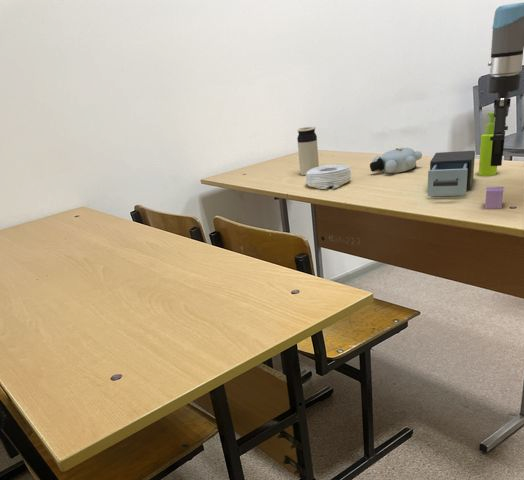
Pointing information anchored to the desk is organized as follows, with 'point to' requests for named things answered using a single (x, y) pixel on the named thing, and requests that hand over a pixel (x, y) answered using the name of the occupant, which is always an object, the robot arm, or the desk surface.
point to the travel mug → (307, 149)
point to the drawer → (448, 179)
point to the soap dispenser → (487, 149)
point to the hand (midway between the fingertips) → (496, 160)
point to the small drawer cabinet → (456, 158)
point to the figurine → (396, 160)
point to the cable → (328, 176)
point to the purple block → (494, 197)
